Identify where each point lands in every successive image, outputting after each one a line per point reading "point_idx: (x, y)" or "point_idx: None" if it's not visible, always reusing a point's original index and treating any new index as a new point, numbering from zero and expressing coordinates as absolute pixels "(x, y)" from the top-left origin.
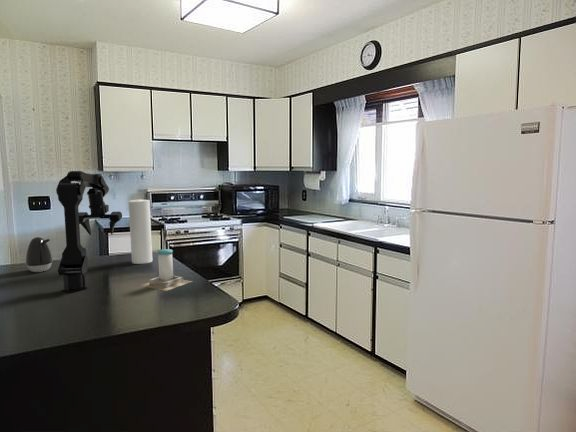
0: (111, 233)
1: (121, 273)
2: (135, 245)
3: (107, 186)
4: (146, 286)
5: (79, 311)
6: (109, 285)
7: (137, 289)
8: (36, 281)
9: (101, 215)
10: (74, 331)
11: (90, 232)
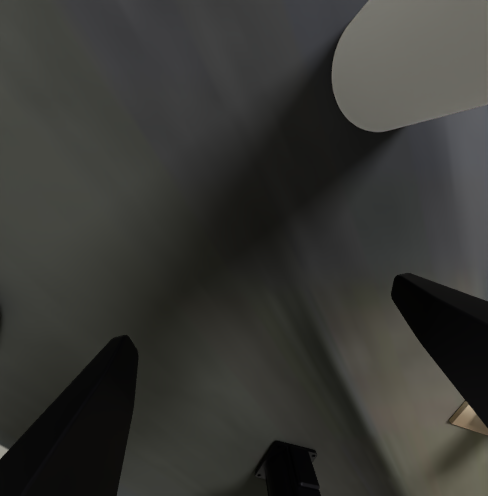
0: (411, 313)
1: (354, 305)
2: (464, 102)
3: None
4: (470, 426)
5: None
6: (364, 420)
7: (446, 435)
8: None
9: None
10: None
11: (126, 385)
